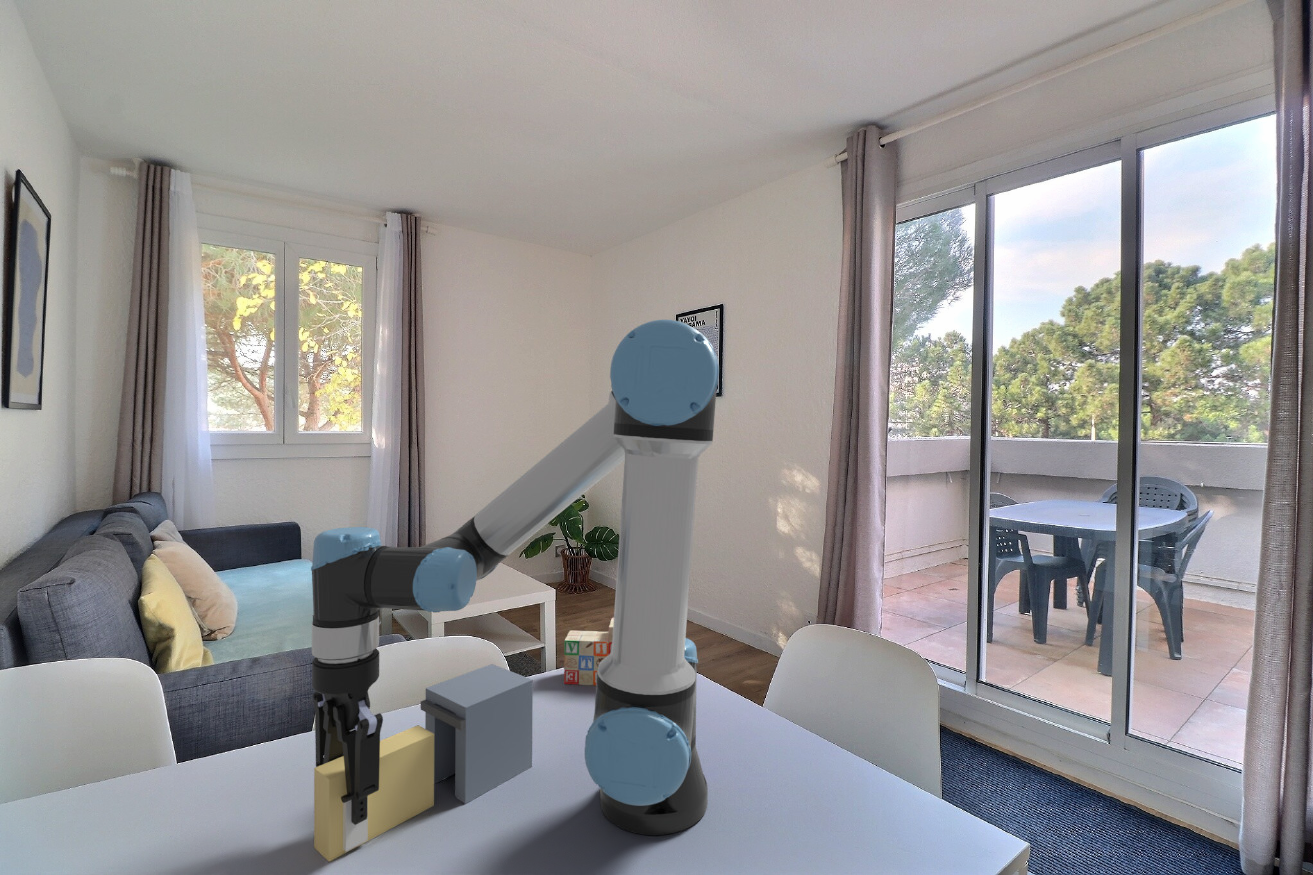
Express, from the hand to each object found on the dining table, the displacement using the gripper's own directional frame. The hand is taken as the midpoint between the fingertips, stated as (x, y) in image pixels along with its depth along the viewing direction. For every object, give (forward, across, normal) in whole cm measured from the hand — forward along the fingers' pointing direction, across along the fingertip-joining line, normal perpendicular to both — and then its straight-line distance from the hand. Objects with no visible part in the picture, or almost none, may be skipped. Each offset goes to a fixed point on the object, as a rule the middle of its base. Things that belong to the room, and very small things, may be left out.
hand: (346, 836), depth 77 cm
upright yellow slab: (+1, 0, -4) cm, 4 cm away
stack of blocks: (+1, +6, -58) cm, 59 cm away
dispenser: (+1, 0, -20) cm, 20 cm away
